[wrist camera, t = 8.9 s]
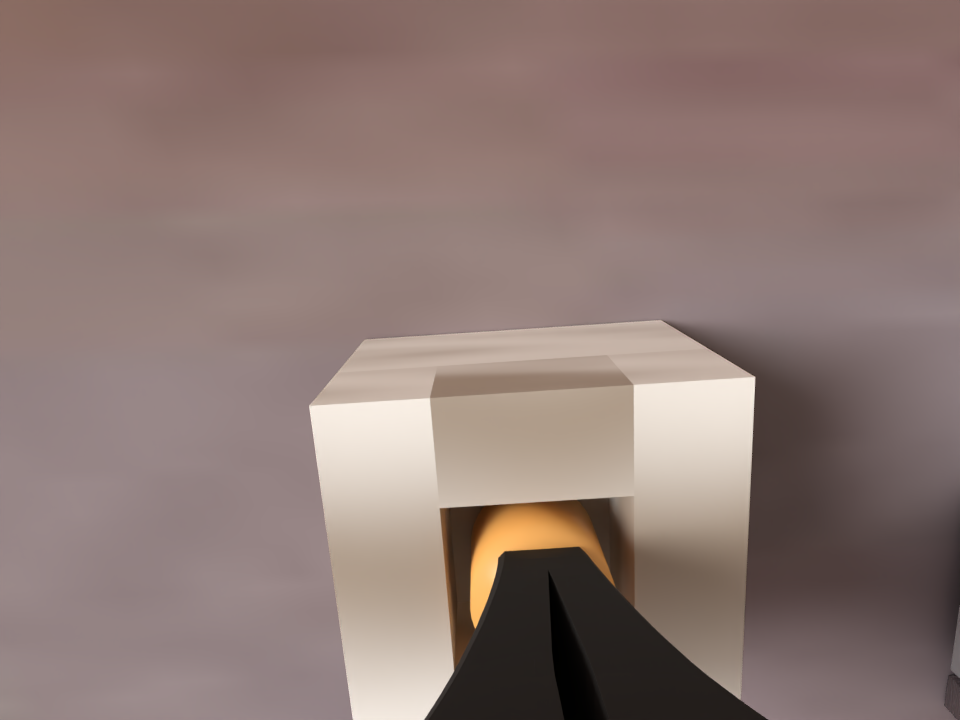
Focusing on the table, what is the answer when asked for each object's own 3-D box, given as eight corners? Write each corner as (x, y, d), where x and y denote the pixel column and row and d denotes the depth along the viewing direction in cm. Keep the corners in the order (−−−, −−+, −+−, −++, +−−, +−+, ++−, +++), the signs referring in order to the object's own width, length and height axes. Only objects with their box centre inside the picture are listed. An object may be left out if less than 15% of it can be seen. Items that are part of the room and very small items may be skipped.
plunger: (595, 590, 12) (618, 663, 10) (475, 598, 12) (475, 672, 10) (592, 480, 12) (616, 534, 10) (466, 487, 12) (464, 544, 10)
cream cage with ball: (670, 581, 16) (754, 742, 11) (394, 598, 16) (359, 765, 11) (673, 319, 14) (774, 375, 10) (364, 339, 14) (308, 405, 10)
